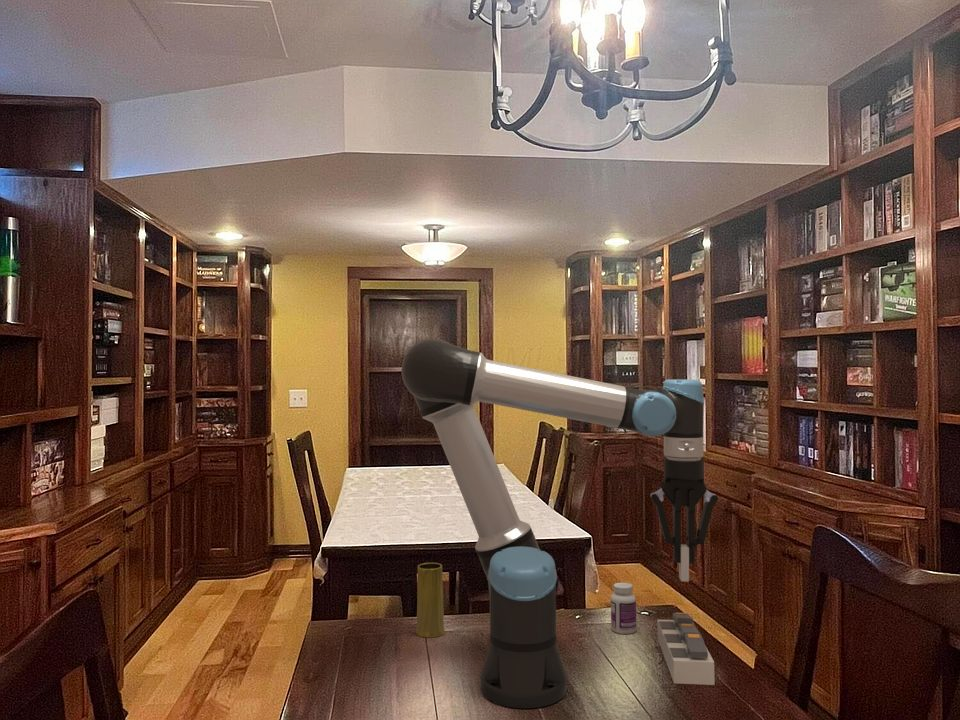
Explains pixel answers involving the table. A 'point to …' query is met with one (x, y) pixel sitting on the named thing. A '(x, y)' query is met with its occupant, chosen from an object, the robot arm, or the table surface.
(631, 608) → the pill bottle
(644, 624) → the table surface
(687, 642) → the block
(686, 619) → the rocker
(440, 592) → the vase
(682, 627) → the rocker
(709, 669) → the power strip
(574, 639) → the table surface
